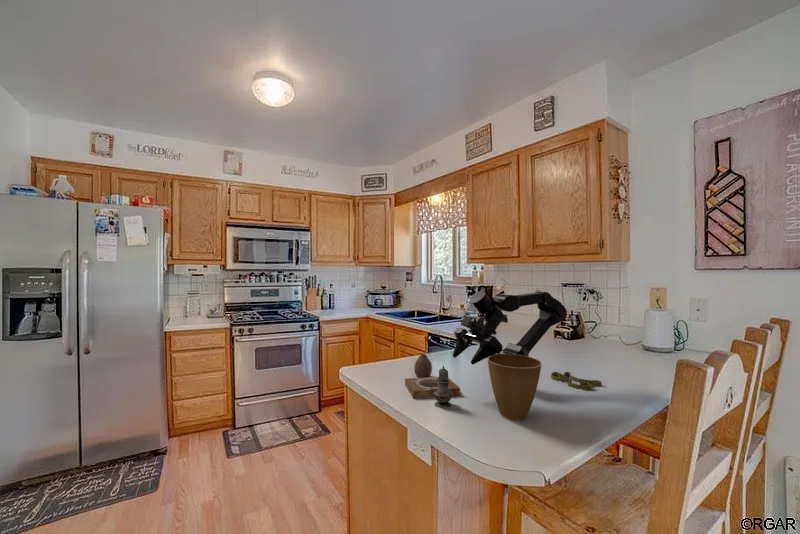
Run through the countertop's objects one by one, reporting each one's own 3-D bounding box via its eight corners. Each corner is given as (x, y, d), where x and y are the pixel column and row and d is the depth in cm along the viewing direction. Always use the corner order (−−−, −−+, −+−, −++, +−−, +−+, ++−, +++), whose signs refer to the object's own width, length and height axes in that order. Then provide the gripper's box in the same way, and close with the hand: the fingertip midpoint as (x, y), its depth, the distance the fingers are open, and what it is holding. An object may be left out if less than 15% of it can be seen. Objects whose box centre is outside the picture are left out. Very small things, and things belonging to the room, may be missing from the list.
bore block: (447, 383, 129) (447, 376, 129) (459, 395, 116) (460, 388, 116) (404, 385, 126) (404, 378, 126) (413, 398, 113) (413, 390, 113)
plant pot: (476, 410, 104) (477, 356, 104) (511, 401, 112) (512, 351, 112) (515, 431, 91) (515, 369, 91) (552, 419, 99) (553, 362, 99)
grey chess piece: (452, 409, 105) (452, 369, 105) (432, 407, 106) (433, 367, 106) (453, 402, 111) (453, 364, 111) (434, 400, 112) (435, 362, 112)
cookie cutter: (607, 388, 127) (607, 382, 127) (587, 393, 121) (587, 388, 121) (563, 375, 143) (563, 370, 143) (543, 379, 137) (543, 374, 137)
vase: (432, 380, 133) (432, 357, 133) (414, 379, 133) (414, 356, 133) (431, 374, 140) (431, 352, 140) (413, 374, 140) (414, 352, 140)
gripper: (458, 304, 123) (431, 338, 118) (496, 310, 107) (467, 350, 101) (475, 325, 127) (450, 359, 121) (514, 334, 110) (487, 373, 105)
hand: (462, 360), depth 112 cm, fingers open, 9 cm apart
